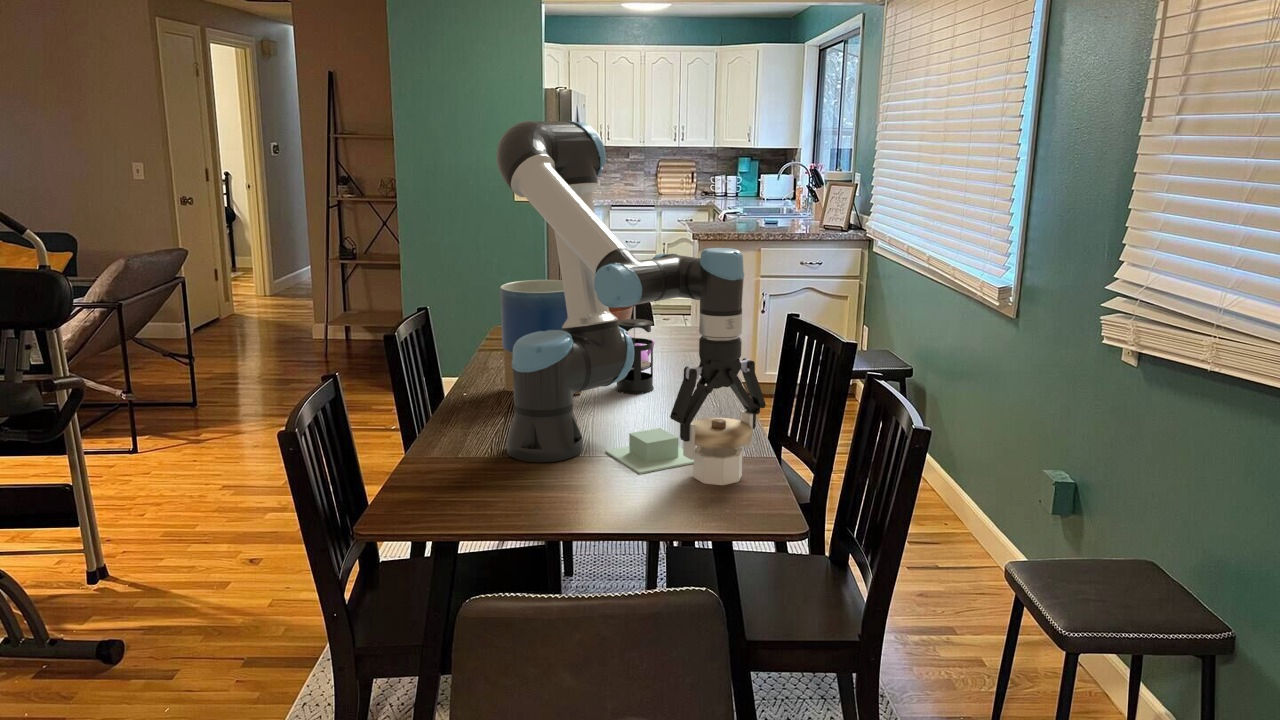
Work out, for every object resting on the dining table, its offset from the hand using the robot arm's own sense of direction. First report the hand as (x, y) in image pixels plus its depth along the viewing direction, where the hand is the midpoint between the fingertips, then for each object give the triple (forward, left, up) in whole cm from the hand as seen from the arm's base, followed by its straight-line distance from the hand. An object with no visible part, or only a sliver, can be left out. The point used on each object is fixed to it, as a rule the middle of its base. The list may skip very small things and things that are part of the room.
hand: (718, 451), depth 170 cm
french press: (+16, +61, -5) cm, 63 cm away
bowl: (+30, +113, -5) cm, 117 cm away
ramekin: (0, 0, -5) cm, 5 cm away
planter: (-5, +69, -5) cm, 69 cm away
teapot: (+25, +81, -5) cm, 85 cm away
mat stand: (-5, +15, -5) cm, 17 cm away
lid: (0, 0, +3) cm, 3 cm away
